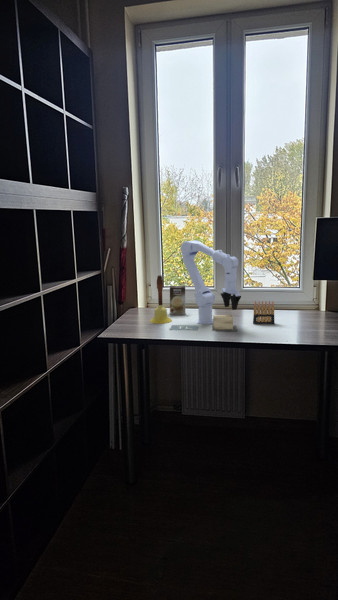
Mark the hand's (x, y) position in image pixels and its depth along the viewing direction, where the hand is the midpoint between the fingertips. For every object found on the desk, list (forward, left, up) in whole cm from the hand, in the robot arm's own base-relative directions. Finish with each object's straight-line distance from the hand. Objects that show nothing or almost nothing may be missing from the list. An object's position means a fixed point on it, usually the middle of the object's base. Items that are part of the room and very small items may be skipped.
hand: (230, 308), depth 207 cm
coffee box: (-28, -30, -10) cm, 42 cm away
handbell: (-9, -37, -10) cm, 39 cm away
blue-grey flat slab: (+5, -23, -9) cm, 25 cm away
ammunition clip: (-6, +17, -10) cm, 20 cm away
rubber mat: (+5, -3, -9) cm, 11 cm away
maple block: (+5, -4, -9) cm, 11 cm away
